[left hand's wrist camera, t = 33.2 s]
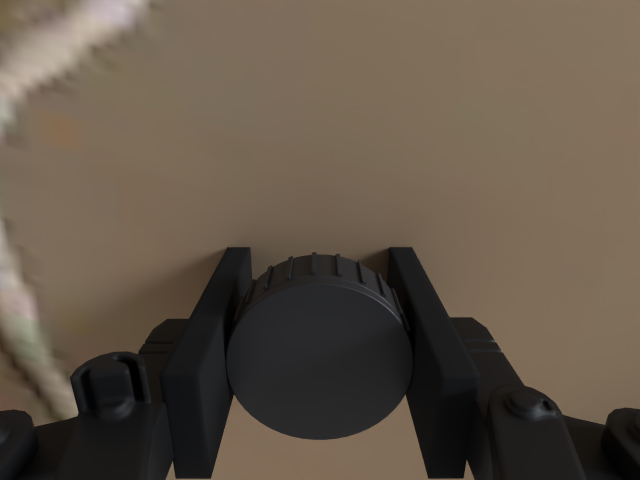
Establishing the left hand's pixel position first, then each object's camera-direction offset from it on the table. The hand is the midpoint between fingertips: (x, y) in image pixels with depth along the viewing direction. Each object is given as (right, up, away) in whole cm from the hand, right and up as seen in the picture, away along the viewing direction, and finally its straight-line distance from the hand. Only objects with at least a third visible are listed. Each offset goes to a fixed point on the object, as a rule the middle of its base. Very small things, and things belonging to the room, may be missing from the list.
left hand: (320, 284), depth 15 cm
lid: (0, -2, -4) cm, 4 cm away
